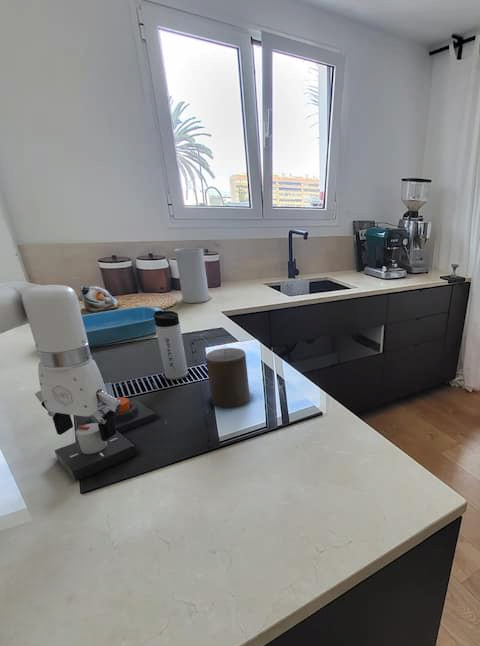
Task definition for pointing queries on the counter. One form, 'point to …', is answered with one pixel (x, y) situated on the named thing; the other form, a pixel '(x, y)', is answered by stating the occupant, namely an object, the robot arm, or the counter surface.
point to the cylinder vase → (192, 275)
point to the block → (130, 417)
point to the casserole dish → (119, 324)
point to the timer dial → (90, 438)
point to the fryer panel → (94, 457)
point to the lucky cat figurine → (98, 299)
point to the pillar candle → (228, 377)
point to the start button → (124, 405)
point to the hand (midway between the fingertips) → (87, 434)
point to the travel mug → (171, 344)
